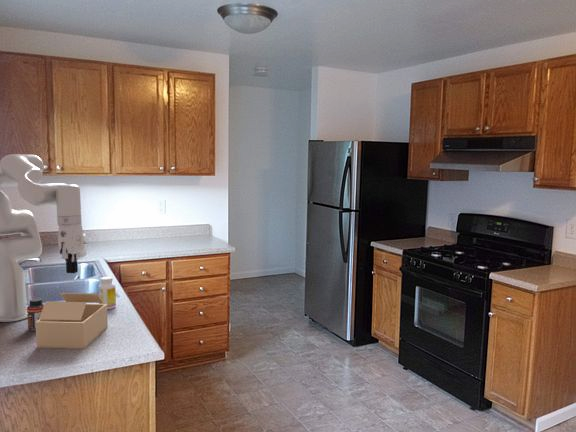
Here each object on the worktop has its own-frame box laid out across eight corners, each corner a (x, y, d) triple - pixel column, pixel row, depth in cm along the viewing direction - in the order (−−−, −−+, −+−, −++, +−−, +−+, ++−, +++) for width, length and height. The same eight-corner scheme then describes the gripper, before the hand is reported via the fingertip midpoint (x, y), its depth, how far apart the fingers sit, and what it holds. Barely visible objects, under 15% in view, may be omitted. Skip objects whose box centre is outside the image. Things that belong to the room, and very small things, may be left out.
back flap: (59, 293, 170) (60, 292, 170) (66, 302, 175) (66, 301, 175) (97, 294, 170) (98, 293, 170) (103, 302, 175) (103, 301, 175)
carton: (36, 347, 157) (35, 322, 156) (65, 326, 177) (64, 303, 176) (84, 348, 157) (83, 322, 156) (107, 327, 177) (106, 304, 176)
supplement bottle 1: (25, 329, 174) (23, 299, 172) (41, 324, 178) (40, 295, 177) (32, 333, 170) (30, 302, 169) (49, 328, 175) (47, 299, 173)
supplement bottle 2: (118, 304, 203) (117, 276, 202) (113, 309, 197) (112, 280, 195) (102, 304, 203) (101, 275, 201) (96, 309, 196) (95, 279, 195)
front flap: (39, 319, 157) (39, 318, 156) (46, 301, 161) (45, 301, 160) (80, 320, 157) (80, 319, 156) (86, 302, 160) (85, 302, 160)
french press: (76, 259, 289) (74, 218, 286) (66, 256, 296) (65, 217, 293) (91, 256, 297) (90, 217, 294) (81, 254, 304) (80, 215, 301)
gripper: (70, 223, 154) (72, 278, 156) (89, 217, 169) (91, 267, 171) (47, 223, 154) (50, 277, 157) (68, 217, 169) (71, 267, 171)
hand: (72, 272), depth 164 cm, fingers closed
